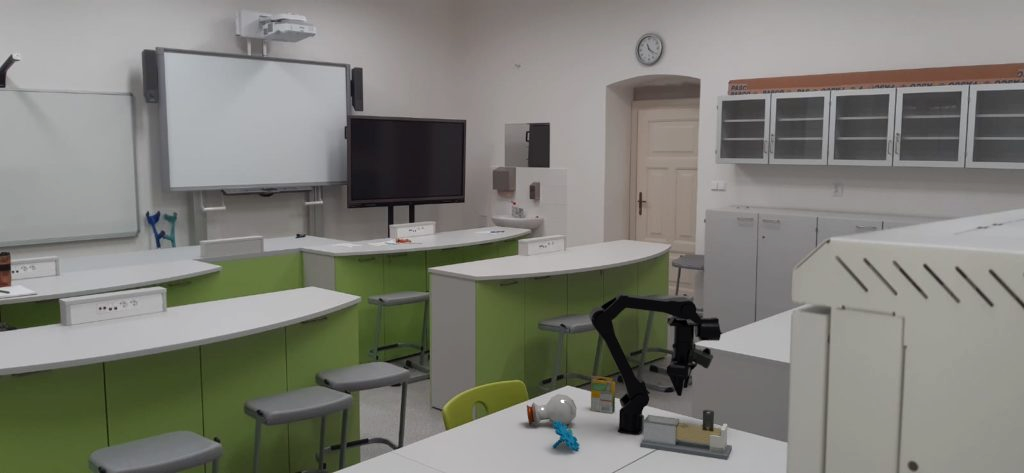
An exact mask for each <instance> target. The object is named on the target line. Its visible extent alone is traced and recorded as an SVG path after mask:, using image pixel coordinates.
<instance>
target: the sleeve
mask: <svg viewBox="0 0 1024 473" xmlns="http://www.w3.org/2000/svg"><path fill="white" fill-rule="evenodd" d="M680 420H681V419H680V418H674V417H666V416H659V415H652V414H647V416H646V417H645V418H644V429H643V439H644V442H650V443H657V444H664V445H670V446H676V444H677V442H678V441H679V440H678V439H676V426H677V424H678V423H680Z"/></svg>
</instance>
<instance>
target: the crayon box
mask: <svg viewBox="0 0 1024 473" xmlns="http://www.w3.org/2000/svg"><path fill="white" fill-rule="evenodd" d="M600 379H602V380H600ZM613 380H614V378H612V377H607V376H606V377H605V376H600V375H599V376H598V375H597V376H596V375H591V383H590V384H591V387H590V388H591V389H590V411H591V410H593V411H592V412H598V411H599V413H605V414H606V413H607V414H611V415H612V414H613V413H614V412H615V411H616V405H615V404H616V382H615V381H613Z"/></svg>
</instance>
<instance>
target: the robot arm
mask: <svg viewBox="0 0 1024 473" xmlns="http://www.w3.org/2000/svg"><path fill="white" fill-rule="evenodd" d="M625 309H633V310H641V311H648V312H657V313H664V314H667V315H670V316H672V318H670V319H669V320H668V321H667V325H668V326H670V327H673V329H674V330H673V332H674V334H673V344H672V348H673V357H672V358H671V362H670V363H669V364H668V365H667V366H666V375H667V376H668V377H669V379H670V381H671V384H672V386H673V388H674V391H675V393H676V395H677V396H678V397H681V396H682V395H683V390H684V389H687V388H688V385H689V382H690V378H691V374H692V371H693V370H694V369H695V368H696V367H698V365H699V366H701V367H703V368H704V369H709V367H710V366H711V363H712V361H713V359H714V355H713V354H712V352H711V351H712V350H711V349H710V348H708V347H705V348H704V349H698V348H697V347H696V346H697V345H696V343H695V341H694V339H695V338H698V340H699V341H700V342H701V341H703V342H704V341H708V342H710V341H714V342H715V341H717V342H718V341H720V339H721V334H722V331H721V327H720V322H719V318H717V316H716V317H701V316H700V315H699V314H698V312H697V306H696V304H695V303H694V302H693V301H692V300H690V299H689V298H687V297H684V296H680V297H679V296H678V297H668V298H658V297H650V296H643V295H634V294H627V293H624V292H620V293H618V294H617V295H616V296H614V297H613V298H611V299H610V300H608V301H606V302H605V303H603V304H602V305H600V306H595V307H594V308H592V309H590V312H589V315H588V316H589V317H588V318H589V320H590V322H591V324H592V326H593V328H595V330H596V332H597V333H598V334H599V336H600V337H601V338H602V339H603V341H604V342H605V344H606V347H607V349H608V351H609V353H610V355H611V358H612V359H613V361H614V363H615V366H616V368H617V370H618V371H619V374H620V375H621V378H622V381H623V385H624V389H625V394H624V395H622V397H621V398H620V399H619V403H620V405H621V408H620V409H619V417H618V418H619V420H618V421H619V423H618V429H617V432H618V433H624V434H632V435H640V433H641V432H642V431H644V420H645V416H644V415H643V411H644V408H645V407H646V406H647V405H648V404H649V401H650V394H651V392H650V390H649V388H648V387H647V386H646V382H645V380H644V378H643V377H642V376H641V375H640V376H639V377H637V376H636V375H635V373H634V371H633V370H632V366H631V365H630V363H629V361H628V359H627V357H626V355H625V353H624V351H623V348H622V347H621V344H620V343H619V342H620V341H618V338H617V336H616V333H615V332H616V331H615V327H614V323H613V320H615V318H617V317H618V316H619V315H620V314H621V313H622V311H624V310H625ZM677 318H679V319H677ZM688 320H689V321H690V320H691V321H690V322H688ZM694 337H695V338H694Z"/></svg>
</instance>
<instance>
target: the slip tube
mask: <svg viewBox="0 0 1024 473" xmlns="http://www.w3.org/2000/svg"><path fill="white" fill-rule="evenodd" d="M714 421H715V411H714V410H711V409H704V410H702V425H696V424H689V423H682V422H679V423H678V424H677V426H676V439H678V440H685V441H692V442H699V443H706V444H710V435H717V436H721V428H719V427H715V426H714V424H715V422H714Z"/></svg>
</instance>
